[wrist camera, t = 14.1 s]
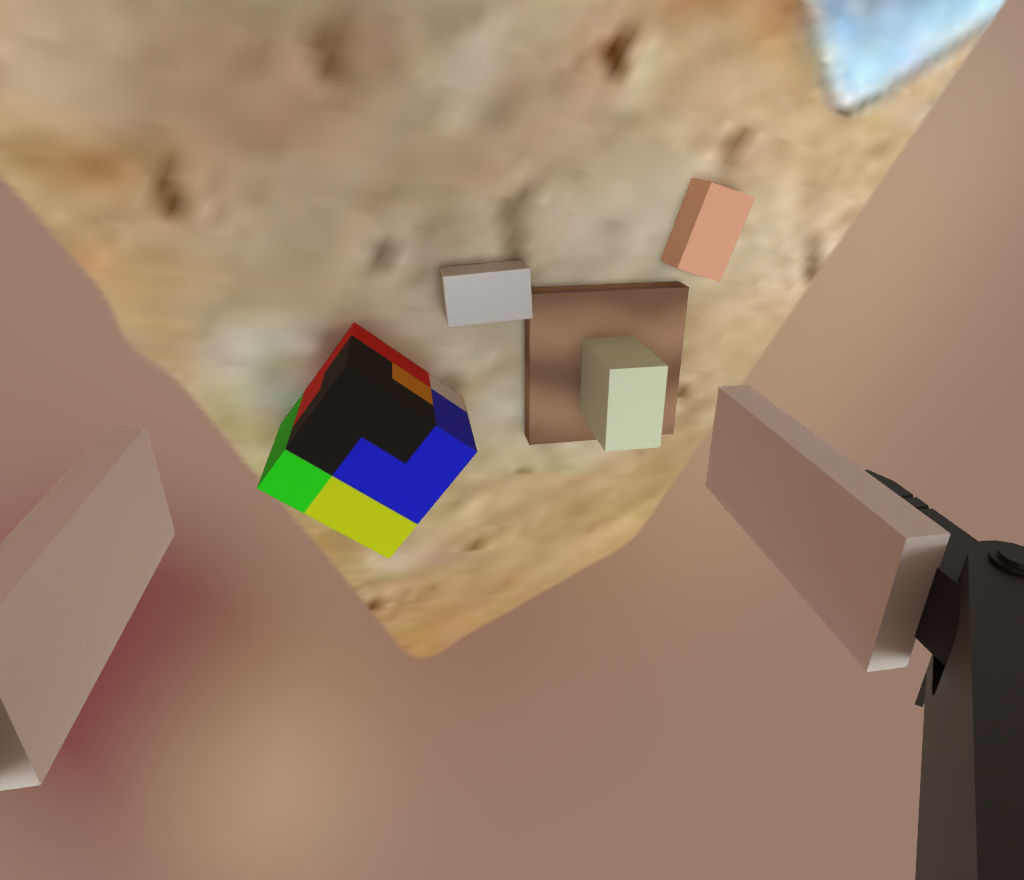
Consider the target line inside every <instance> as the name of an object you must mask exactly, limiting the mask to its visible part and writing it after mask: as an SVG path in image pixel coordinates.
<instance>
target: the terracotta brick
mask: <svg viewBox="0 0 1024 880" xmlns="http://www.w3.org/2000/svg"><path fill="white" fill-rule="evenodd" d="M754 199H755V197H752V196H750V195H747V194H744V193H741V192H738V191H735V190H733V189H730V188H727V187H724V186H721V185H719V184H716V183H713V182H709V181H703V180H697V179H691V182H690V185H689V187H688V190H687V192H686V195H685V198H684V200H683V203H682V206H681V208H680V211H679V213H678V216H677V219H676V221H675V224H674V226H673V229H672V232H671V234H670V237H669V240H668V242H667V245H666V247H665V250H664V253H663V255H662V258H661V260H662V261H664V262H666V263H668V264H670V265H672V266H674V267H675V268H677V269H681V270H684V271H687V272H690V273H694V274H697V275H700V276H703V277H706V278H710V279H713V280H716V281H719V282H720V280H721V278H722V275H723V273H724V271H725V268H726V266H727V263H728V261H729V259H730V256H731V254H732V251H733V249H734V247H735V244H736V242H737V240H738V237H739V235H740V232H741V230H742V228H743V225H744V223H745V221H746V218H747V216H748V213H749V211H750V209H751V206H752V204H753V202H754Z"/></svg>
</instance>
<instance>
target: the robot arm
mask: <svg viewBox="0 0 1024 880" xmlns="http://www.w3.org/2000/svg"><path fill="white" fill-rule="evenodd" d="M706 487H707V488H708V489H709V490H710V491H711V493H712V494H713V495H714V496H715V497H716V498H717V500H718V501H719V502H720V503H721V504H722V505H723V506H724V508H725V509H726V510H727V511H728V512H729V513H730V514H731V516H732V517H733V518H734V519H735V520H736V522H737V523H738V524H739V525H740V526H741V527H742V528H743V530H744V531H745V532H746V533H747V534H748V535H749V536H750V538H751V539H752V540H753V541H754V542H755V543H756V545H757V546H758V547H759V548H760V549H761V550H762V552H763V553H764V554H765V555H766V556H767V557H768V558H769V560H770V561H771V562H772V563H773V564H774V565H775V566H776V567H777V569H778V570H779V571H780V572H781V573H782V575H783V576H784V577H785V578H786V579H787V580H788V582H789V583H790V584H791V585H792V586H793V587H794V588H795V590H796V591H797V592H798V593H799V594H800V595H801V597H802V598H803V599H804V600H805V601H806V602H807V604H808V605H809V606H810V607H811V608H812V609H813V610H814V612H815V613H816V614H817V615H818V616H819V617H820V619H821V620H822V621H823V622H824V623H825V624H826V625H827V627H828V628H829V629H830V630H831V631H832V632H833V634H834V635H835V636H836V637H837V638H838V639H839V640H840V641H841V643H842V644H843V645H844V646H845V647H846V649H847V650H848V651H849V652H850V653H851V654H852V656H853V657H854V658H855V659H856V660H857V661H858V663H859V664H860V665H861V666H862V667H863V668H864V669H865V671H866V672H871V671H877V670H885V669H892V668H899V667H906V666H907V664H908V661H909V658H910V655H911V652H912V649H913V646H914V643H915V640H916V638H917V639H918V640H919V641H920V642H921V643H922V644H923V645H924V646H925V647H926V648H927V649H928V650H929V651H930V652H931V653H932V656H931V659H930V662H929V666H928V668H927V671H926V674H925V677H924V679H923V682H922V685H921V688H920V691H919V694H918V697H917V700H916V703H915V705H918V706H921V707H922V706H923V705H924V703H925V706H924V707H925V708H924V725H923V745H922V763H921V782H920V801H919V820H918V821H919V822H918V839H917V858H916V859H917V860H916V876H915V880H1024V547H1023V546H1020V545H1017V544H1014V543H1008V542H1002V541H980V542H979V541H977V540H976V539H974V538H973V537H971V536H970V535H969V534H967V533H966V532H965V531H963V530H962V529H960V528H959V527H958V526H956V525H955V524H953V523H952V522H950V521H949V520H948V519H946V518H945V517H943V516H942V515H940V514H939V513H938V512H936V511H935V510H933V509H929V508H928V505H927V504H925V503H924V502H922V501H921V500H920V499H918V498H917V497H915V498H913V494H911V493H910V492H908V491H907V490H905V489H904V488H903V487H901V486H900V485H899V484H897V483H896V482H894V481H892V480H890V479H888V478H885V477H883V476H881V475H878V474H876V473H874V472H872V471H869V470H863V469H862V468H861V467H859V466H858V465H857V464H855V463H854V462H852V461H851V460H850V459H848V458H847V457H846V456H844V455H843V454H842V453H840V452H839V451H837V450H836V449H835V448H833V447H832V446H831V445H829V444H828V443H826V442H825V441H824V440H822V439H821V438H820V437H818V436H817V435H816V434H814V433H813V432H811V431H810V430H809V429H807V428H806V427H805V426H803V425H802V424H801V423H799V422H798V421H796V420H795V419H794V418H792V417H791V416H790V415H788V414H787V413H786V412H784V411H783V410H782V409H780V408H779V407H777V406H776V405H775V404H773V403H772V402H771V401H769V400H768V399H767V398H765V397H764V396H762V395H761V394H760V393H758V392H757V391H755V390H754V389H753V388H752V387H750V386H749V385H741V386H726V387H719V389H718V397H717V404H716V411H715V419H714V426H713V433H712V441H711V448H710V456H709V464H708V470H707V478H706ZM174 534H175V531H174V527H173V524H172V520H171V516H170V513H169V509H168V505H167V502H166V498H165V494H164V490H163V487H162V483H161V479H160V475H159V472H158V468H157V464H156V460H155V457H154V453H153V450H152V446H151V442H150V438H149V434H148V431H147V427H146V426H137V427H121V428H108V429H107V430H106V431H105V432H104V433H103V434H102V436H101V437H100V438H99V439H98V440H97V441H96V442H95V443H94V444H93V445H92V446H91V448H89V450H88V451H87V452H86V453H85V454H84V455H83V456H82V457H81V458H80V459H79V460H78V461H77V462H76V464H74V465H73V466H72V468H71V469H70V470H69V471H68V472H67V473H66V474H65V475H64V476H63V477H62V478H61V479H60V480H59V481H58V482H57V484H56V485H55V486H54V487H53V488H52V489H51V490H50V491H49V492H48V493H47V494H46V496H45V497H44V498H43V499H42V500H41V501H40V502H39V503H38V504H37V505H36V506H35V507H34V508H33V509H32V510H31V511H30V513H28V515H27V516H26V517H25V518H24V519H23V520H22V521H21V522H20V523H19V524H18V525H17V526H16V527H15V528H14V529H13V531H12V532H11V533H10V534H9V535H8V536H7V537H6V538H5V539H4V540H3V541H2V542H1V543H0V790H8V789H15V788H22V787H29V786H37V785H41V784H42V782H43V780H44V778H45V776H46V774H47V772H48V770H49V769H50V767H51V765H52V763H53V761H54V759H55V757H56V755H57V754H58V752H59V750H60V748H61V746H62V744H63V742H64V740H65V739H66V737H67V735H68V733H69V731H70V729H71V727H72V725H73V723H74V722H75V720H76V718H77V716H78V714H79V712H80V710H81V709H82V707H83V705H84V703H85V701H86V699H87V697H88V695H89V694H90V692H91V690H92V688H93V686H94V684H95V682H96V680H97V679H98V677H99V675H100V673H101V671H102V669H103V667H104V665H105V663H106V662H107V660H108V658H109V656H110V654H111V652H112V650H113V649H114V647H115V645H116V643H117V641H118V639H119V637H120V635H121V633H122V632H123V630H124V628H125V626H126V624H127V622H128V620H129V618H130V617H131V615H132V613H133V611H134V609H135V607H136V605H137V603H138V602H139V600H140V598H141V596H142V594H143V592H144V590H145V588H146V587H147V585H148V583H149V581H150V579H151V577H152V575H153V573H154V572H155V570H156V568H157V566H158V564H159V562H160V560H161V559H162V556H163V555H164V553H165V551H166V549H167V547H168V545H169V544H170V542H171V540H172V538H173V536H174Z"/></svg>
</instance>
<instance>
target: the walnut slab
mask: <svg viewBox="0 0 1024 880" xmlns="http://www.w3.org/2000/svg"><path fill="white" fill-rule="evenodd" d="M688 290H689V287H688V286H686V285H684V284H682V283H680V282H656V283H633V284H610V285H587V286H564V287H541V288H531V295H532V315H533V318H529V319H525V436H526V438H527V440H528V443H529V445H533V444H546V443H558V442H571V441H584V440H597V438H596V437H595V435H594V434H593V432H592V431H591V429H590V427H589V426H588V424H587V423H586V421H585V420H584V418H583V417H582V415H581V414H580V394H581V368H582V343H583V339H586V338H604V337H622V336H635V337H636V338H637V339H638V340H639V341H640V342H642V343H643V344H644V345H645V346H646V347H647V348H648V349H650V350H651V351H652V352H653V353H654V354H655V355H656V356H658V357H659V358H660V359H661V360H662V361H663V362H664V363H666V364H667V365H668V373H667V383H666V393H665V403H664V413H663V424H662V434H673V430H674V420H675V411H676V402H677V393H678V383H679V374H680V365H681V355H682V346H683V337H684V328H685V318H686V309H687V300H688ZM662 434H661V435H662Z"/></svg>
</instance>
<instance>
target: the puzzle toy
mask: <svg viewBox="0 0 1024 880" xmlns="http://www.w3.org/2000/svg"><path fill="white" fill-rule="evenodd" d="M476 453H477V449H476V445H475V441H474V437H473V433H472V430H471V426H470V422H469V418H468V414H467V410H466V406H465V403H464V399H463V396H462V395H460V394H459V393H457V392H456V391H454V390H453V389H451V388H450V387H448V386H447V385H445V384H444V383H443V382H441V381H440V380H438V379H437V378H435V377H434V376H432V375H431V374H429V373H428V372H426V371H425V370H423V369H422V368H420V367H419V366H418V365H416V364H415V363H413V362H412V361H410V360H409V359H407V358H406V357H404V356H403V355H401V354H400V353H398V352H397V351H395V350H394V349H393V348H391V347H390V346H388V345H387V344H385V343H384V342H382V341H381V340H379V339H378V338H376V337H375V336H373V335H372V334H371V333H369V332H368V331H366V330H365V329H363V328H362V327H360V326H359V325H357V324H356V323H353V325H352V326H351V327H350V329H349V330H348V332H347V333H346V334H345V336H344V337H343V339H342V340H341V341H340V343H339V344H338V346H337V347H336V348H335V350H334V351H333V353H332V354H331V355H330V357H329V358H328V360H327V361H326V362H325V364H324V365H323V367H322V368H321V369H320V371H319V372H318V373H317V375H316V376H315V378H314V379H313V380H312V382H311V383H310V385H309V386H308V387H307V389H306V390H305V392H304V393H303V394H302V396H301V397H300V399H299V400H298V401H297V403H296V404H295V406H294V407H293V408H292V410H291V411H290V413H289V414H288V415H287V417H286V418H285V420H284V421H283V422H282V424H281V425H280V428H279V431H278V433H277V436H276V439H275V441H274V444H273V447H272V449H271V452H270V455H269V457H268V460H267V463H266V465H265V468H264V471H263V473H262V476H261V479H260V482H259V484H258V487H257V488H258V489H260V490H261V491H263V492H265V493H267V494H269V495H271V496H273V497H274V498H276V499H278V500H280V501H282V502H284V503H286V504H287V505H289V506H291V507H293V508H295V509H297V510H299V511H301V512H302V513H304V514H306V515H308V516H310V517H312V518H314V519H316V520H317V521H319V522H321V523H323V524H325V525H327V526H329V527H331V528H332V529H334V530H336V531H338V532H340V533H342V534H344V535H346V536H347V537H349V538H351V539H353V540H355V541H357V542H359V543H361V544H362V545H364V546H366V547H368V548H370V549H372V550H374V551H376V552H377V553H379V554H381V555H383V556H385V557H387V558H390V557H391V556H392V555H393V553H394V552H395V551H396V550H397V549H398V547H399V546H400V545H401V544H402V543H403V541H404V540H405V539H406V538H407V536H408V535H409V534H410V533H411V532H412V530H413V529H414V528H415V527H416V525H417V524H418V523H419V522H420V521H421V519H422V518H423V517H424V516H425V515H426V513H427V512H428V511H429V510H430V508H431V507H432V506H433V505H434V504H435V502H436V501H437V500H438V499H439V498H440V496H441V495H442V494H443V493H444V491H445V490H446V489H447V488H448V487H449V485H450V484H451V483H452V482H453V481H454V479H455V478H456V477H457V476H458V474H459V473H460V472H461V471H462V470H463V468H464V467H465V466H466V465H467V464H468V462H469V461H470V460H471V459H472V457H473V456H474V455H475V454H476Z"/></svg>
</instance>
